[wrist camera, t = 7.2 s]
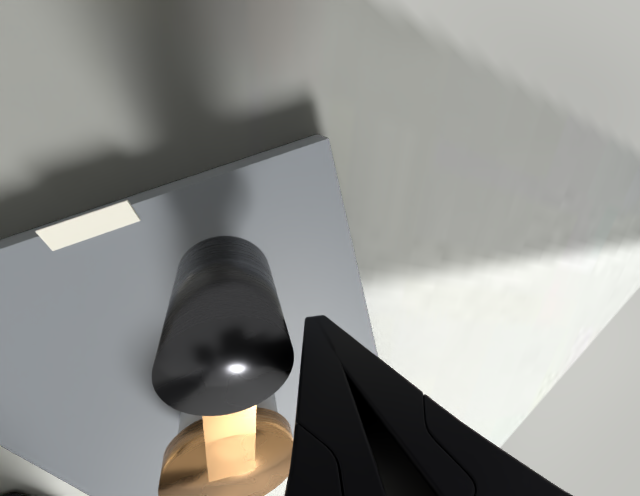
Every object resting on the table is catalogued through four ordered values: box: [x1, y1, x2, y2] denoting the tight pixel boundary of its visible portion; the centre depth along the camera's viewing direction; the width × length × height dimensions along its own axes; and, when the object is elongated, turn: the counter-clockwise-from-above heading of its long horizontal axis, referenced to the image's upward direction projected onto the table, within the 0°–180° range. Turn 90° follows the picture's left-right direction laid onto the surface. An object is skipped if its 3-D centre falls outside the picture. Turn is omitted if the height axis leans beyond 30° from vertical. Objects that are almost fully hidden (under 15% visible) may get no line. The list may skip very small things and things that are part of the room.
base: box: [0, 134, 378, 496], centre depth 14 cm, size 18×18×4 cm
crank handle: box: [152, 236, 294, 496], centre depth 11 cm, size 14×6×4 cm, turn 173°
